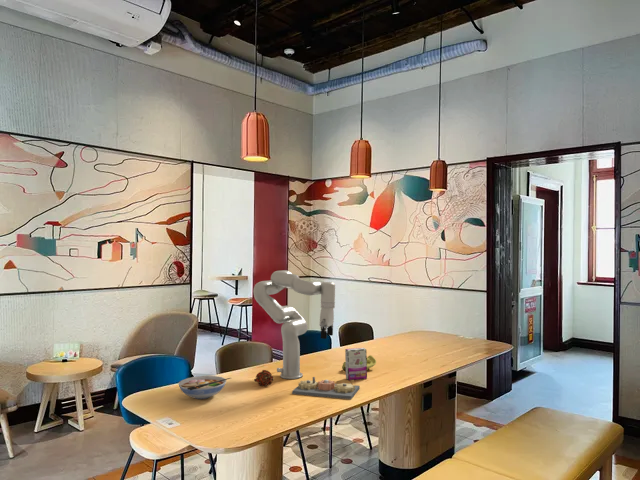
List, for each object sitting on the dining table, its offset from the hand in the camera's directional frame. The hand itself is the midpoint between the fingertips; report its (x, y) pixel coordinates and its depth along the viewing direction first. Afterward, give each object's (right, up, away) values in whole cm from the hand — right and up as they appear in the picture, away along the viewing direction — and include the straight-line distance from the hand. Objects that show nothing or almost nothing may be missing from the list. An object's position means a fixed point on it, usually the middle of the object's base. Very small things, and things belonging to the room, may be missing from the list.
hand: (326, 336), depth 249 cm
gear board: (0, -24, -17) cm, 29 cm away
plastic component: (+20, -25, +25) cm, 41 cm away
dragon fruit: (-33, -25, -5) cm, 42 cm away
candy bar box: (+16, -25, +6) cm, 30 cm away
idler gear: (0, -22, -17) cm, 28 cm away
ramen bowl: (-61, -24, -25) cm, 70 cm away
